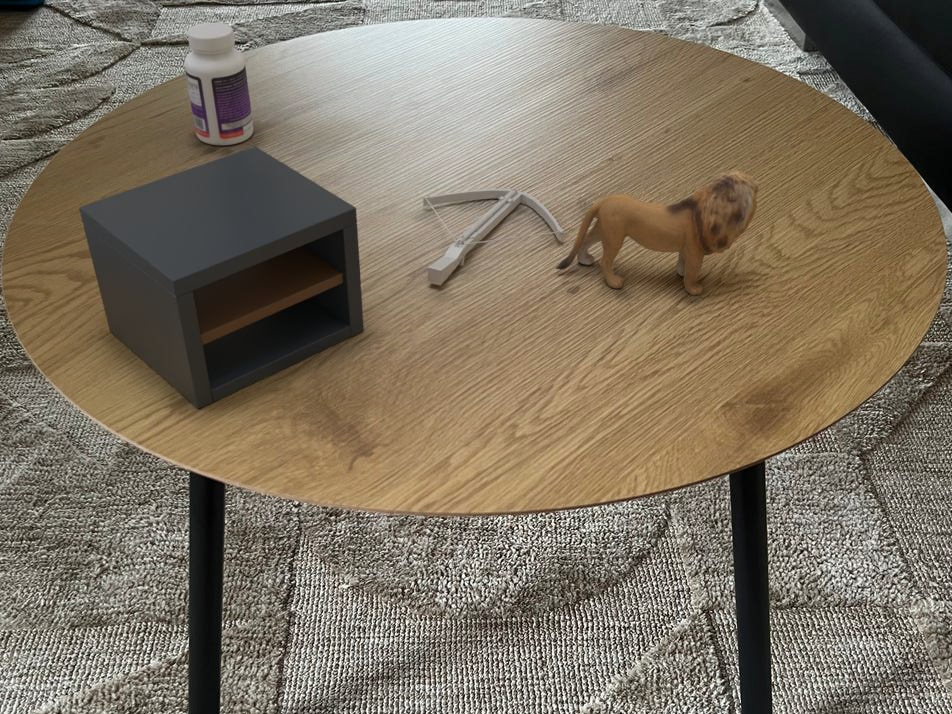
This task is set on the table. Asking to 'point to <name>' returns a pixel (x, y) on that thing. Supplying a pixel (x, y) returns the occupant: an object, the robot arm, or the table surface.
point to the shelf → (226, 272)
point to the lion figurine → (670, 226)
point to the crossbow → (481, 225)
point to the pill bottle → (217, 85)
